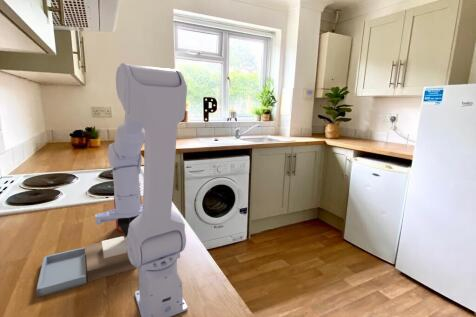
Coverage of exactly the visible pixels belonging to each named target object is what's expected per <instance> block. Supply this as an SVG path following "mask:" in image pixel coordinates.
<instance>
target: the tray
mask: <svg viewBox="0 0 476 317" xmlns="http://www.w3.org/2000/svg"><path fill="white" fill-rule="evenodd" d="M37 281H38V282H37V286H36V295H37V298H38V297H39V298H41V297H40V296H42V297H44V296H43V295H46V294H49V295H51V294H50V293H53V294H55V293H58V292H62V291H66V290H69V289H73V288H77V287H79V286H83V285H86V284H87V283H88V281H87V261H86V246H84V247H79V248H75V249H71V250H66V251H62V252H57V253H53V254H49V255H44V256H43V260H42V262H41V268H40V272H39V277H38V280H37ZM87 285H88V284H87ZM46 296H47V295H46Z"/></svg>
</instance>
